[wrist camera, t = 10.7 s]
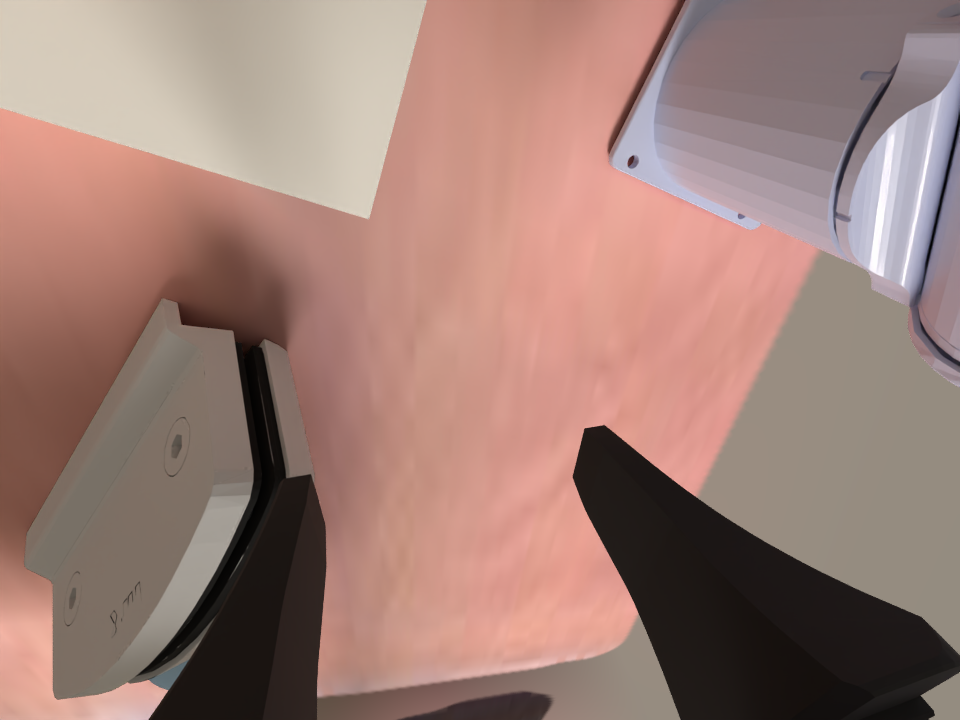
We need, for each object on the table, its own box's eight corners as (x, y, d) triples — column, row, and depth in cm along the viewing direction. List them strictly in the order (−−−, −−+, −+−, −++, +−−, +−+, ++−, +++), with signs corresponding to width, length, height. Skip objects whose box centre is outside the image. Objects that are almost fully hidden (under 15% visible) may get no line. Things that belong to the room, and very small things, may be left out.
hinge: (166, 290, 17) (201, 516, 12) (281, 323, 21) (349, 507, 15) (23, 538, 22) (1, 777, 17) (136, 529, 26) (148, 722, 20)
